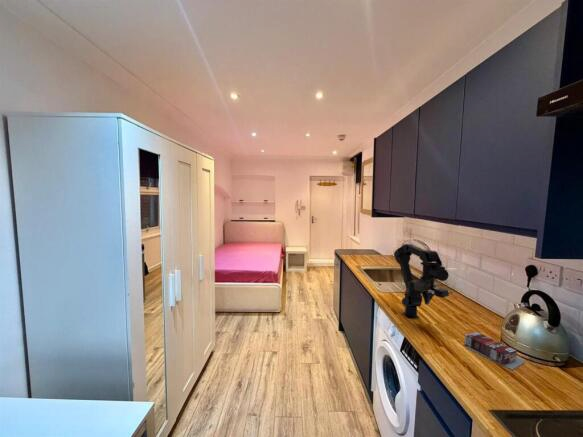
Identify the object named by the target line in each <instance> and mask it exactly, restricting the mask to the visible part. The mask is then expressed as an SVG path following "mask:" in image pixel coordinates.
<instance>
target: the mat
mask: <svg viewBox="0 0 583 437" xmlns="http://www.w3.org/2000/svg"><path fill="white" fill-rule="evenodd" d="M465 348H466V349H467V350H469V351H471V352H473V353H475V354H478V355H479V356H482V357H483V358H486V359H488V360H490V361H492V362H493V363H496V364H497V365H500V366H502V367H505V368H506V369H509V370H511V371H514V370H516V369H517V368H519V367H521V366H522V365H524V364H525V362H526V363H527V360H525V359H522V358H520V357H518V356H516V361H512V362H509V363H506V364H504V365H502V364H501V363H499V362H497V361H495V360H493V359H491V358H489V357H488V356H486V355H484V354H482V353H480V352H478V351H477V350H475V349H473V348H471V347H469V346H467V345H466V346H465Z"/></svg>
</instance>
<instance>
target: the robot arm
mask: <svg viewBox="0 0 583 437" xmlns="http://www.w3.org/2000/svg"><path fill="white" fill-rule="evenodd" d="M412 255H414V256H417V257H418V258H419V260H420V261H421V262H420V265H421V266H422V271H421V272H422V276H420V277H419V280H416V279H414V277H413V274H412V270H411V266H410V260H411V256H412ZM393 256H394V259H395V261H396V263H398V265H399V266H400V269H401V274H402V278H403V281H404V282H403V283H404V286H405V292H404V297H403V298H402V299H401V304H402V305H403V306H404V311H403V312H402V315H404V316H405V317H406V318H408V319H416V318H417V319H418V318H420V316H419V315H418V307H421V306H422V304H423V303H422V302H423V300H424V304H425V305H426V306H428V305H429V304H430V302H431V301H432V300H433V297H434V296H435V297H438V298H441V299H442V298H447V297H449V295H450V292H449V290H447V289H446V288H442V287H439V288H436V287H437V285H435V280H438V281H440V282H445V281H447V280H448V279H449V275H450V274H449V272H448V270H446V267H445V266H443V261H442V260H441V257H440V256H439V253H438V252H437V251H435V250H429V249H423V248H421V247H418V246H417V245H414V244H412V243H405V244H403V245H402V246H401V247H398V248H397V249H396V250H395V251H394V254H393Z"/></svg>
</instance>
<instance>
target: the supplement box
mask: <svg viewBox="0 0 583 437" xmlns="http://www.w3.org/2000/svg"><path fill="white" fill-rule="evenodd" d="M464 345H466V347H467V346H469V347H471V348H473V349H475V350H477V351H478V352H480V353H482V354H484V355H486V356H488V357H489V358H491V359H493V360H495V361H497V362H499V363H501V364H502V365H504V364H506V363H509V362H512V361H516V357H517V354H518V353H517V350H516V349H515V348H512V347H510V346H508V345H506V344H504V343H501V342H499V341H497V340H495V339H493V338H491V337H489V336H487V335H485V334H483V333H481V332H478V331H476V332H472V333H468V334H467V333H466V334H465V335H464ZM502 365H501V366H502Z"/></svg>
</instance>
